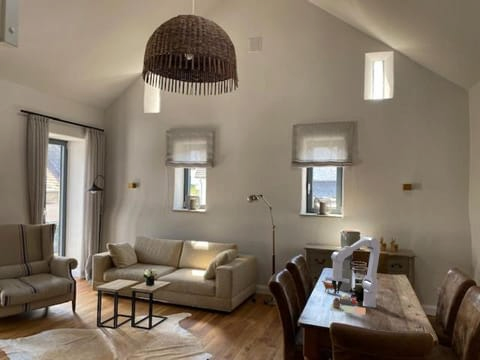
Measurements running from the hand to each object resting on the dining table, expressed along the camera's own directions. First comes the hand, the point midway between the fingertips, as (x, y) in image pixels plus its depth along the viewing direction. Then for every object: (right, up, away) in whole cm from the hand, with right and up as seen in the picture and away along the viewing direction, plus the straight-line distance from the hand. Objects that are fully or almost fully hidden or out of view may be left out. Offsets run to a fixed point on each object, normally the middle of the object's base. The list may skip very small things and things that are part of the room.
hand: (336, 293), depth 228 cm
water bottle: (+17, -10, +40) cm, 45 cm away
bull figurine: (+3, -10, +32) cm, 34 cm away
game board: (+6, -10, -2) cm, 12 cm away
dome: (+8, -9, +10) cm, 15 cm away
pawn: (0, -9, 0) cm, 9 cm away
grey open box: (+10, -10, +9) cm, 17 cm away
